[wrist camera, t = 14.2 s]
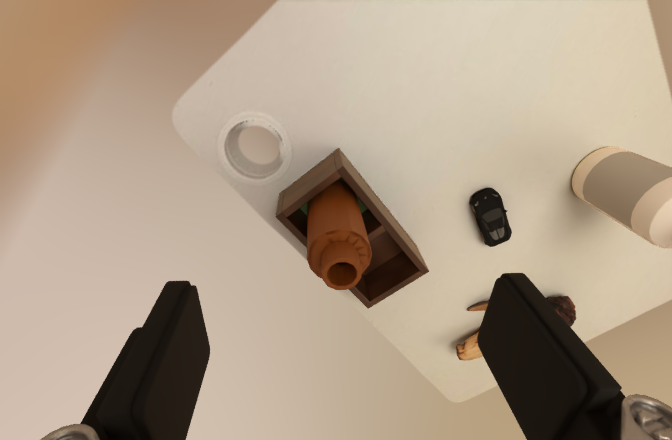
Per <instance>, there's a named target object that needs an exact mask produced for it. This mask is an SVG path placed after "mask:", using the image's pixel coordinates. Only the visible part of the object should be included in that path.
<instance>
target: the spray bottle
mask: <svg viewBox="0 0 672 440" xmlns="http://www.w3.org/2000/svg"><path fill="white" fill-rule="evenodd" d="M572 187H573V190H574V193H575V194H576V195H577V196H578V197H579V198H580V199H582V200H583V201H585V202H587V203H588V204H590V205H591V206H593V207H595V208H596V209H598V210H599V211H601V212H603V213H604V214H606V215H607V216H609V217H610V218H612V219H614V220H615V221H617V222H618V223H620V224H622V225H623V226H625V227H626V228H628V229H629V230H631V231H633V232H634V233H636V234H637V235H639V236H641V237H642V238H644V239H645V240H647V241H649V242H650V243H652V244H653V245H656V246H659V247H662V248H672V168H671V167H669V166H666V165H664V164H661V163H659V162H656V161H653V160H651V159H648V158H646V157H643V156H640V155H638V154H635V153H633V152H630V151H627V150H625V149H622V148H620V147H605V148H602V149H598V150H596V151H594V152H593V153H591V154H589V155H588V156H587V157H586V158H585V159H583V160H582V161H581V162H580V164H579V165H578V167H577V168H576V169H575V172H574V175H573V177H572Z"/></svg>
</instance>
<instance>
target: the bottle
mask: <svg viewBox="0 0 672 440" xmlns="http://www.w3.org/2000/svg"><path fill="white" fill-rule="evenodd" d="M371 257H372V252H371V247H370V243H369V240H368V236H367V232H366V229H365V225H364V222H363V218H362V214H361V211H360V207H359V204H358V200H357V196H356V193H355V192H354V191H353V190H352V188H351V187H350V186H349V185H348V184H347V183H346V182H344V181H341V180H336V181H335V182H333V183H332V184H331V185H329V186H328V187H327V188H325V189H324V190H323V191H321V192H320V193H319V194H317V195H316V196H315V197H313V198H312V199H311V200H309V201H308V214H307V260H308V263H309V266H310V268H311V270H312V271H313V272H314V273H315V274H316V275H317V276H318V277H320V278H322V279H323V281H324V282H325V283H326V284H327V286H329V287H331V288H333V289H335V290H346V289H349V288H351V287H353V286H355V285H356V284H357V283H358V282H359V280H360V279H361V275H362V273H363V272H364V271H365V270H366V268H367V267H368V266H369V264H370V261H371Z"/></svg>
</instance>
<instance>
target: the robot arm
mask: <svg viewBox="0 0 672 440" xmlns="http://www.w3.org/2000/svg"><path fill="white" fill-rule="evenodd" d="M477 343H478V347H479V349H480V351H481V353H482V355H483V357H484V359H485V360H486V362H487V364H488V366H489V368H490V370H491V372H492V374H493V376H494V378H495V380H496V381H497V383H498V385H499V387H500V389H501V391H502V393H503V395H504V397H505V399H506V401H507V402H508V404H509V406H510V408H511V410H512V412H513V414H514V416H515V418H516V420H517V422H518V423H519V425H520V427H521V429H522V431H523V433H524V435H525V437H526V439H527V440H672V408H671V407H670V406H668V405H666V404H664V403H662V402H661V401H659V400H656V399H654V398H651V397H648V396H645V395H638V394H635V395H629V396H627V397H625V396H624V395H623V393H622V392H621V391H620V390H621V386H620V385H619V384H618V383H617V382H616V380H615V379H614V378H613V377H612V376H611V374H610V373H609V372H608V371H607V370H606V369H605V367H604V366H603V365H602V364H601V363H600V362H599V360H598V359H597V358H596V357H595V356H594V354H592V352H591V351H590V350H589V349H588V348H587V346H586V345H585V344H584V343H583V342H582V340H581V339H580V338H579V337H578V336H577V335H576V333H575V332H574V331H573V330H572V329H571V328H570V326H569V325H568V324H567V323H566V322H565V321H564V319H563V318H562V317H561V316H560V315H559V314H558V312H557V311H556V310H555V309H554V308H553V307H552V305H551V304H550V303H549V302H548V301H547V299H546V298H545V297H544V296H543V295H542V294H541V292H540V291H539V290H538V289H537V288H536V287H535V285H534V284H533V283H532V282H531V281H530V280H529V278H528V277H527V276H526V275H525V274H523V273H505V274H502V275H501V277H500V278H498V279H497V280H496V282H495V284H494V288H493V291H492V294H491V297H490V300H489V303H488V306H487V309H486V312H485V315H484V318H483V321H482V324H481V327H480V330H479V333H478V336H477ZM209 355H210V345H209V341H208V336H207V332H206V327H205V323H204V319H203V314H202V309H201V305H200V301H199V296H198V292H197V288H196V286H191V284H190V282H189V281H168V282H167V283H166V284H165V286H164V288H163V290H162V292H161V293H160V296H159V297H158V299H157V301H156V303H155V305H154V307H153V308H152V310H151V312H150V314H149V316H148V318H147V320H146V322H145V323H144V325H143V327H142V328H141V327H140V328H136V329H135V330H133V332H132V333H131V334H130V336H129V338H128V340H127V341H126V343H125V345H124V347H123V348H122V350H121V352H120V354H119V356H118V357H117V359H116V361H115V363H114V365H113V366H112V368H111V370H110V372H109V374H108V375H107V377H106V379H105V381H104V382H103V384H102V386H101V388H100V390H99V392H98V393H97V395H96V397H95V398H94V400H93V402H92V404H91V406H90V407H89V409H88V411H87V413H86V415H85V416H84V418H83V420H82V422H81V423H80V424H73V425H69V426H65V427H62V428H59V429H57V430H55V431H53V432H51V433H49V434H48V435H46V436H45V437H44V438H42V439H41V440H186V436H187V433H188V429H189V426H190V423H191V419H192V416H193V412H194V409H195V405H196V402H197V398H198V394H199V391H200V388H201V384H202V381H203V377H204V374H205V371H206V367H207V364H208V360H209Z"/></svg>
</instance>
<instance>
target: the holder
mask: <svg viewBox="0 0 672 440" xmlns="http://www.w3.org/2000/svg"><path fill="white" fill-rule="evenodd" d="M336 180H341V181H344V182H346V183H347V184H348V185H349V186H350V187H351V188H352V190H353V191H354V192H355V193H356V196H357V200H358V204H359V207H360V211H361V214H362V218H363V222H364V225H365V229H366V232H367V236H368V240H369V243H370V247H371V252H372V257H371V261H370V264H369V266H368V267H367V268H366V270H365V271H364V272H363V273H362V275H361V279H360V280H359V282H358V283H357V284H356V285H355V286H353V287H351V288H349V290H350V291H351V292H352V293H353V294H354V295H355V296H356V297H357V298H358V299H359V300H360V301H361V302H362V303H363V304H364V305H365V306H366V307H367V308H370V307H372V306H373V305H375V304H377V303H378V302H380V301H381V300H383V299H385V298H386V297H388V296H390V295H391V294H393V293H395V292H396V291H398V290H400V289H401V288H403V287H404V286H406V285H408V284H409V283H411V282H413V281H414V280H416V279H418V278H419V277H421V276H422V275H424V274H426V273H427V272H429V270H428V268H427V266H426V264H425V262H424V260H423V258H422V256H421V254H420V252H419V250H418V248H417V246H416V244H415V243H414V242H413V240H412V239H411V238H410V237H409V235H408V234H407V233H406V232H405V230H404V229H403V228H402V226H401V225H400V224H399V223H398V221H397V220H396V219H395V218H394V216H393V215H392V214H391V213H390V211H389V210H388V209H387V208H386V206H385V205H384V204H383V203H382V201H381V200H380V199H379V198H378V196H377V195H376V194H375V193H374V191H373V190H372V189H371V188H370V186H369V185H368V184H367V183H366V181H365V180H364V179H363V178H362V176H361V175H360V174H359V173H358V171H357V170H356V169H355V168H354V166H353V165H352V164H351V162H350V161H349V160H348V159H347V157H346V156H345V155H344V154H343V152H342V151H341V150H340V149H339V148H338V149H337V150H336V151H334V152H333V153H332V154H330V155H329V156H328V157H326V158H325V159H324V160H323V161H321V162H320V163H319V164H317V165H316V166H315V167H314V168H312V169H311V170H310V171H308V172H307V173H306V174H304V175H303V176H302V177H301V178H299V179H298V180H297V181H295V182H294V183H293V184H291V185H290V186H289V187H288V188H286V189H285V190H284V191H282V192H281V193H280V195H279V201H278V206H277V212H276V218H277V219H278V220H279V221H280V222H281V223H282V224H283V225H285V226H286V227H287V228H288V229H289V230H290V231H291V232H292V233H293V234H294V235H295V236H296V237H297V238H298V239H299V240H300V241H301V242H302V243H303V244H304V245H305V246H306V247H307V214H308V201H309V200H311V199H312V198H313V197H315V196H316V195H317V194H319V193H320V192H321V191H323V190H324V189H325V188H327V187H328V186H329V185H331V184H332V183H333V182H335V181H336Z"/></svg>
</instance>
